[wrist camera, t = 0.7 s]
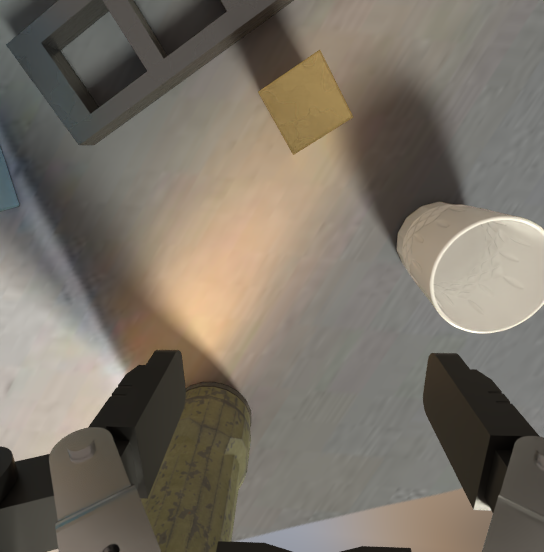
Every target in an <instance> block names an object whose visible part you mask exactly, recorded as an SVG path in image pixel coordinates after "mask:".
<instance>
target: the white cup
mask: <svg viewBox="0 0 544 552" xmlns="http://www.w3.org/2000/svg"><path fill="white" fill-rule="evenodd" d="M397 252H398V254H399V257H400V259H401V261H402V263H403V265H404V266H405V268H406V269H407V271H408V273H409V274H410V276H411V277H412V279H413V280H414V281H415V283H416V284H417V286H418V287H419V288H420V289H421V291H422V292H423V293H424V295H425V296H426V297H427V298H428V300H429V301H430V302H431V304H432V305H433V306H434V307H435V309H436V310H437V311H438V313H439V314H440V315H441V316H442V317H443V318H444V319H445V320H446V321H447V322H448V323H450V324H451V325H453V326H455V327H457V328H459V329H461V330H464V331H468V332H473V333H493V332H499V331H503V330H506V329H509V328H511V327H514V326H516V325H518V324H520V323H522V322H523V321H525V320H526V319H528V318H529V317H531V316H532V315H533V314H534V313H535V312H537V311H538V310H539V309H540V308H541V307H542V305H543V304H544V229H543V228H542V227H540V226H539V225H537V224H536V223H534V222H532V221H530V220H527V219H524V218H521V217H516V216H512V215H508V214H503V213H499V212H495V211H491V210H487V209H483V208H476V207H472V206H466V205H454V204H449V203H444V202H436V203H432V204H428V205H424V206H421V207H420V208H418V209H417V210H416V211H414V212H413V213H412V214H411V215H409V216H408V217H407V218H406V219H405V221H404V223H403V225H402V226H401V228H400V230H399V232H398V236H397Z"/></svg>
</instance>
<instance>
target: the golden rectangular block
mask: <svg viewBox="0 0 544 552" xmlns="http://www.w3.org/2000/svg"><path fill="white" fill-rule="evenodd" d="M258 93H259V94H260V96H261V98H262V100H263V102H264V103H265V105H266V107H267V109H268V111H269V112H270V114H271V116H272V118H273V119H274V121H275V123H276V125H277V127H278V128H279V130H280V132H281V134H282V136H283V137H284V139H285V141H286V143H287V145H288V146H289V148H290V150H291V152H292V153H293V155H294V154H296V153H297V152H299V151H300V150H302V149H304V148H305V147H307V146H308V145H310V144H312V143H313V142H315V141H316V140H318V139H320V138H321V137H323V136H324V135H326V134H328V133H329V132H331V131H332V130H334V129H335V128H337V127H339V126H340V125H342V124H343V123H345V122H347V121H348V120H350V119H351V118H353V115H352V113H351V111H350V109H349V107H348V105H347V103H346V101H345V99H344V97H343V95H342V93H341V91H340V89H339V87H338V85H337V83H336V81H335V79H334V77H333V75H332V73H331V71H330V69H329V67H328V65H327V63H326V61H325V59H324V57H323V55H322V53H321V51H320V50H318V51H317V52H316V53H314V54H313V55H311V56H310V57H308V58H307V59H305V60H304V61H302V62H301V63H299V64H298V65H297V66H295V67H294V68H292V69H291V70H289V71H288V72H286V73H285V74H283V75H282V76H280V77H279V78H278V79H276V80H275V81H273V82H272V83H270V84H269V85H267V86H266V87H264V88H263V89H261V90H260V91H259V92H258Z"/></svg>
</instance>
